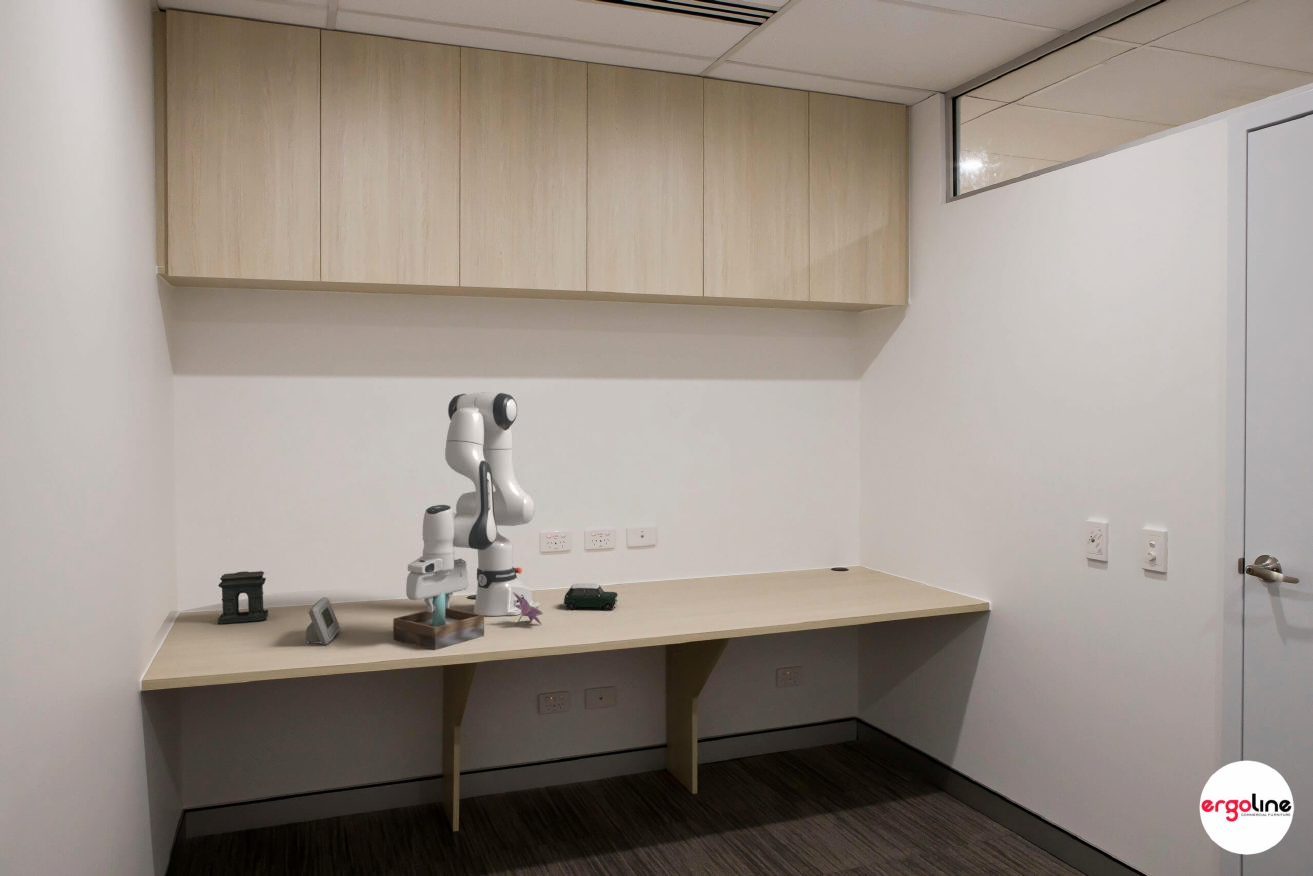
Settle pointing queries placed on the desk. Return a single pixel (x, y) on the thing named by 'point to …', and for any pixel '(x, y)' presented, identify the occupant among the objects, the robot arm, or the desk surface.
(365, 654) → the desk surface
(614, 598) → the miniature car
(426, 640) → the bore box
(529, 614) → the lily
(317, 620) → the digital clock
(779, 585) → the desk surface
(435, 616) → the peg
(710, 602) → the desk surface
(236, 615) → the model
